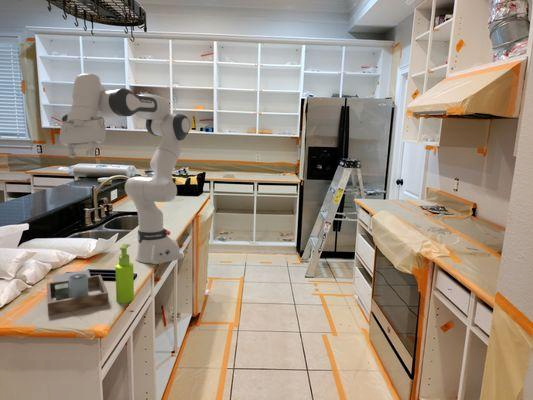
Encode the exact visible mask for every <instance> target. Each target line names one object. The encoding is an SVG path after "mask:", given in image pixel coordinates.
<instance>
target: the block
mask: <svg viewBox="0 0 533 400" xmlns="http://www.w3.org/2000/svg"><path fill="white" fill-rule="evenodd" d="M55 292H56V293H55V301H58V300H63V299H69V290H68V283H66V284H59V285H55Z"/></svg>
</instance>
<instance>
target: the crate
mask: <svg viewBox="0 0 533 400" xmlns="http://www.w3.org/2000/svg"><path fill="white" fill-rule="evenodd" d="M66 283H68V290H69V281H68V280H63V281H56V282H53V281H51V282H46V297H47V301H46V302H47V314H48V316H51V315H56V314H61V313H66V312H71V311H77V310H81V309H87V308H91V307H98V306H102V305H108V304H109V292H108V290H107V287H106V285H105V282H104V280H103V277H102V275H101V274H98V275H97V274H95V275H92V276H91V275H90V277H88V289H89V288H93V287H98V289H99V290H100V292H99V293H93V294H89V295H86V296H80V297H75V298H63V299H58V300H53V301H52V294H56V292H55V285H59V284H66Z"/></svg>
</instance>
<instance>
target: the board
mask: <svg viewBox="0 0 533 400" xmlns="http://www.w3.org/2000/svg"><path fill="white" fill-rule="evenodd" d="M77 273H85V274H87V275H88V277H90V276H91V273H90V271H89V269H86V270H78V271H72V272H65V273H58V274H52V282H56V281H63V280H68V277H69V276H70V275H73V274H77Z"/></svg>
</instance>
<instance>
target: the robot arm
mask: <svg viewBox="0 0 533 400" xmlns="http://www.w3.org/2000/svg"><path fill="white" fill-rule="evenodd" d="M71 96H72V104H71V107H70V111H68V112H67V113H66V114H65V115H63V116H61V118H60V123H61V125H60V131H59V143H60V144H61V145H64V146H66V149H67V152H68V158H76V155H77V153H76V152H75V148H76V146H84V145H88V149H86V151H85V152H86V153H85V156H87V157H93V156H94V152H95V150H96V148H97V145H98V144H104V143H105V141H106V136H107V132H106V131H107V129H106V124H105V119H106V118H107V119H108V118H117V117H119V118H121V117H131V116H133V115H135V116H137V117H138V118H140V119H143V120H145V128H146V131H147V132H148V133H149V134H150V135H152V136H156V137H158V136H160V137H161V142H160V143H159V144H158V146H157V148H156V150H155V151H154V154H153V156H152V157H151V160H150V162H149V166H150V169H151V171H152V172H153V175H152V176H151V177H150V176H141V175H139V176H132V177H129V178H127V180H126V181H125V184H124V191H125V194H126V195H127V197H129V198H130V199H131V201H132V202H133V204H134V206H135V209H136V212H137V218H138V230H137V242H138V244H137V245H138V246H137V251H136V257H135V260H136V261H137V262H140V263H143V264H144V263H145V264H146V263H147V264H153V265H159V264H163V263H168V262H172V261H176V260H182V259H185V252H183V251H182V250H180V245H179V244H178V242H177V241H175V240H174V239H172V238H171V237H170V235H171V231H169V230H167V229H165V228H164V214H163V211H162V210H161V209H159V208H158V206H157V205H156V203H167V202H172V201H174V199H175V198H176V196H177V195H178V189H177V188H178V186H177V185H176V183H175V182H174V181H173V173H174V169H175V167H176V165H177V162H178V160H179V157H180V155H181V151H182V147H183V146H182V145H183V144H182V141H183V140H184V139H186V137H187V135H188V134H189V132H190V129H191V122H190V119H189V117H188V116H187V115H185V114H181V113H171V104H170V101H169V100H167V98H165V97H162V96H161V95H157V94H152V93H142V94H137V93H135V92H133V91H131V90H130V89H128V88H119V89H114V90H113V89H112V90H107V89H106V88H105V87H104V86H103V85H102V82H101V79H100V77H99V76H98V75H96V74H93V73H82V74H78V75H76V76H75V79H74V82H73V87H72V95H71ZM155 202H156V203H155Z"/></svg>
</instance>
